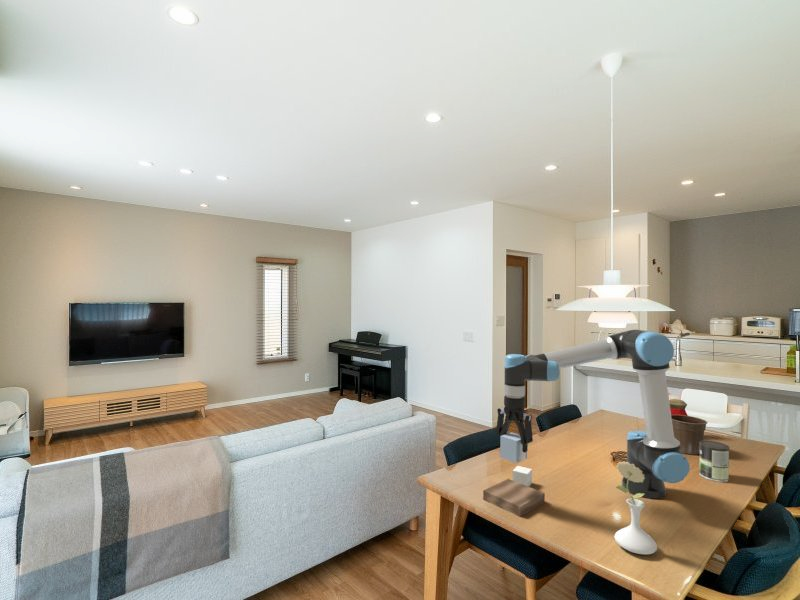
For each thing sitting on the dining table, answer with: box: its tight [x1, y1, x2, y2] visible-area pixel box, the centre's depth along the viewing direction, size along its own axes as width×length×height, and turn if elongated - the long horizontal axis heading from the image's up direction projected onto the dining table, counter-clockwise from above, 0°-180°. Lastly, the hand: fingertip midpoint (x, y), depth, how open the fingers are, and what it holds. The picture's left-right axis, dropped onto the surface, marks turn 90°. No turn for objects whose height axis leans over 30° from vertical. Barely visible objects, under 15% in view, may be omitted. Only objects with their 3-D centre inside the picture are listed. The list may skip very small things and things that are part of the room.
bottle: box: [669, 398, 689, 416], centre depth 232 cm, size 16×14×20 cm
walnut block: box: [482, 478, 546, 517], centre depth 155 cm, size 16×16×4 cm
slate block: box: [499, 432, 528, 464], centre depth 155 cm, size 7×7×8 cm
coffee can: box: [698, 439, 730, 483], centre depth 177 cm, size 10×10×14 cm
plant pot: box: [671, 415, 708, 456], centre depth 209 cm, size 16×16×16 cm
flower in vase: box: [614, 461, 658, 556], centre depth 127 cm, size 13×11×25 cm
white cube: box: [512, 465, 533, 487], centre depth 169 cm, size 6×6×6 cm
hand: (513, 456), depth 155 cm, fingers closed on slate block, 7 cm apart
